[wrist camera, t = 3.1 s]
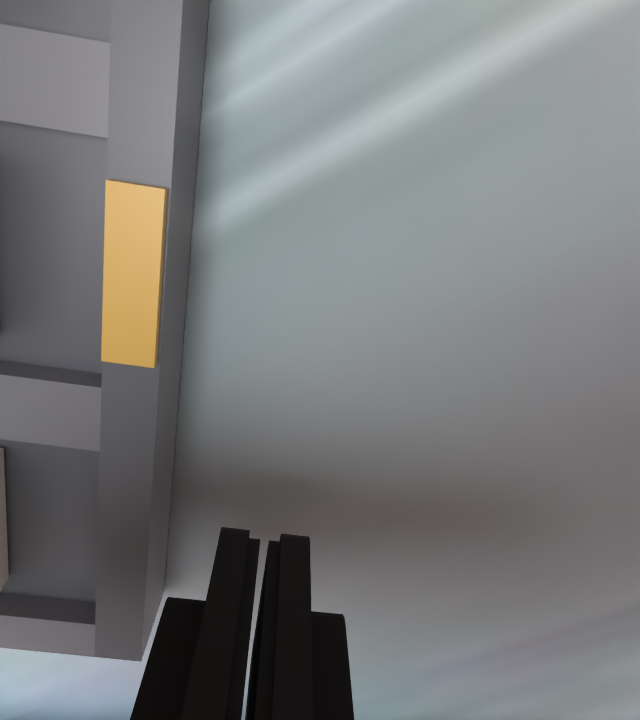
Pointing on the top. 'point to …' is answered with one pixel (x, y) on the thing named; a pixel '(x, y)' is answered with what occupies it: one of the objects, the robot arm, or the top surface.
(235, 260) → the top surface
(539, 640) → the top surface
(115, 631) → the switch board
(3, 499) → the tab
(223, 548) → the robot arm
